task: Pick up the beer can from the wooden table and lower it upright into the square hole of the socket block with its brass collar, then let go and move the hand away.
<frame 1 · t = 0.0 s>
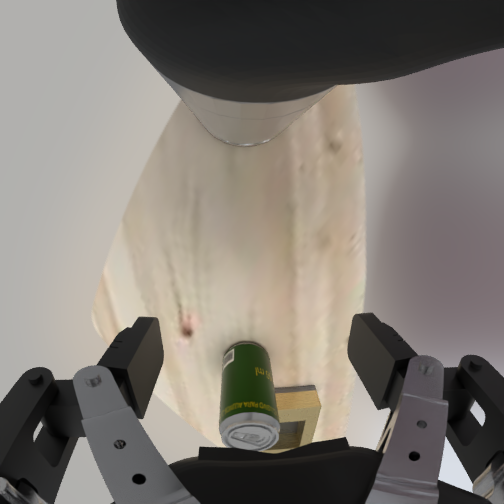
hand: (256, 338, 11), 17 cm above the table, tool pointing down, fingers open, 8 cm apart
beer can: (246, 357, 32), on the table
socket block: (274, 416, 35), on the table
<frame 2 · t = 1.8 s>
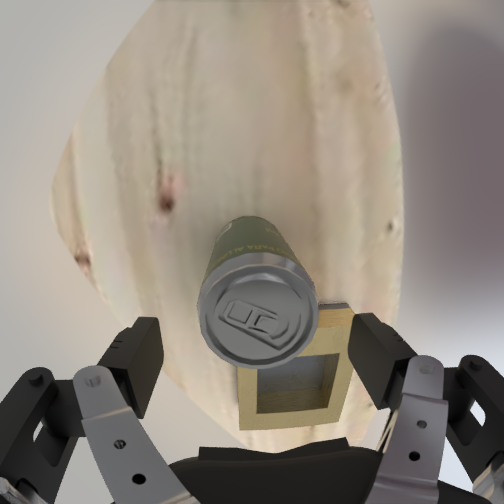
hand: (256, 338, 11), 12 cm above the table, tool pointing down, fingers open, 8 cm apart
beer can: (249, 247, 23), on the table
socket block: (289, 360, 26), on the table
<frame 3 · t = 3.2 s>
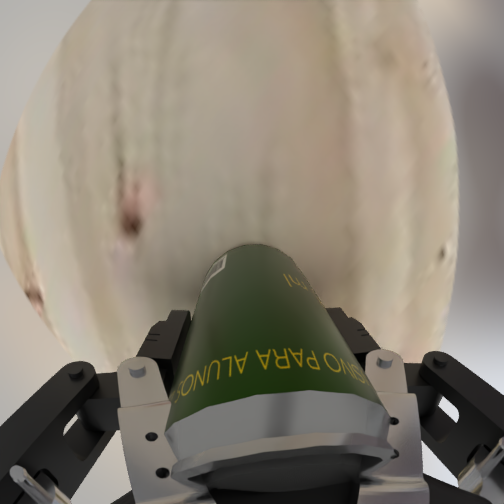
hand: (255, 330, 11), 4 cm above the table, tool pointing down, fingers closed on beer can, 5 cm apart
beer can: (253, 288, 16), on the table, touching gripper
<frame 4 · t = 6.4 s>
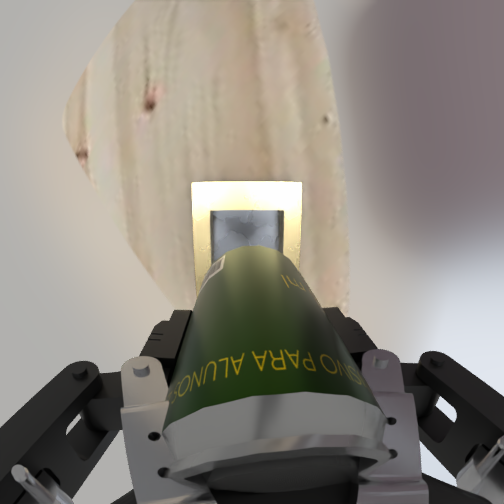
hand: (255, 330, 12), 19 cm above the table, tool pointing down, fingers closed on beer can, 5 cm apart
beer can: (252, 288, 16), point 15 cm above the table, touching gripper
socket block: (246, 237, 30), on the table
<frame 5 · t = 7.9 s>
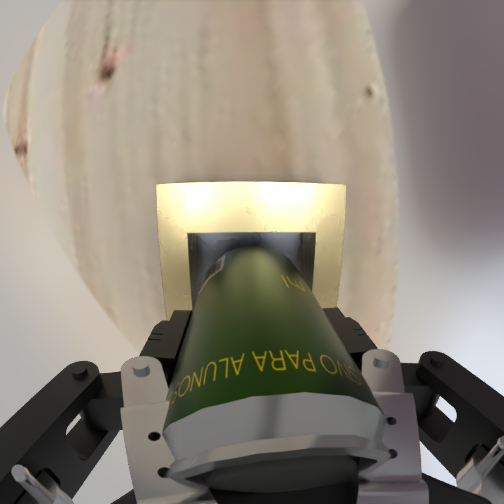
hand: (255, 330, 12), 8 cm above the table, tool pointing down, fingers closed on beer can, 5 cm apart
beer can: (252, 289, 16), point 4 cm above the table, touching gripper
socket block: (249, 270, 19), on the table
when the fingers open (6 cm above the table, at t = 9.1 s): beer can drops 1 cm, resting on socket block.
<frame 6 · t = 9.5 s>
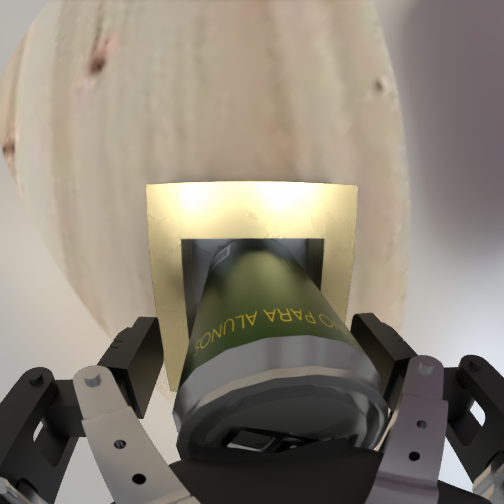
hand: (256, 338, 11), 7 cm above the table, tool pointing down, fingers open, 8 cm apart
beer can: (253, 277, 17), point 1 cm above the table, touching socket block
socket block: (250, 278, 18), on the table
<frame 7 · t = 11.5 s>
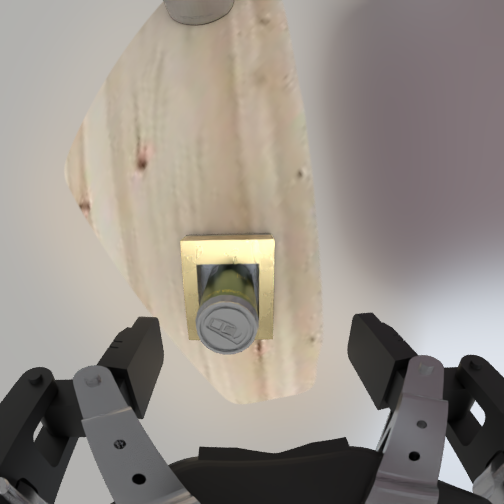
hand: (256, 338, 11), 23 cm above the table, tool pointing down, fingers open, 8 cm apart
beer can: (230, 281, 34), point 1 cm above the table, touching socket block
socket block: (229, 282, 35), on the table
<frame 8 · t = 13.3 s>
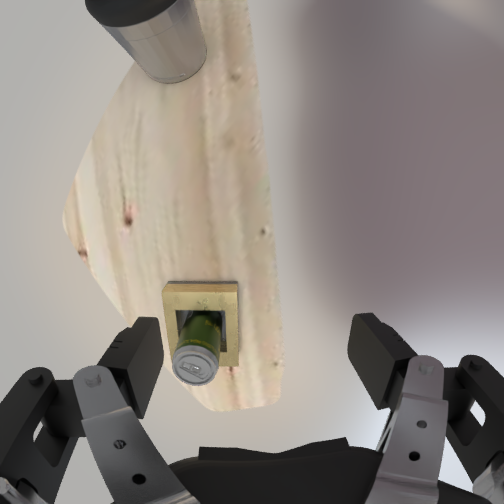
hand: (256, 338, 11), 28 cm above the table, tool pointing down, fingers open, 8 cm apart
beer can: (204, 319, 40), point 1 cm above the table, touching socket block
socket block: (204, 318, 41), on the table
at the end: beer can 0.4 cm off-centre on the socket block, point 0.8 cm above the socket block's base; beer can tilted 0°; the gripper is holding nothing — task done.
